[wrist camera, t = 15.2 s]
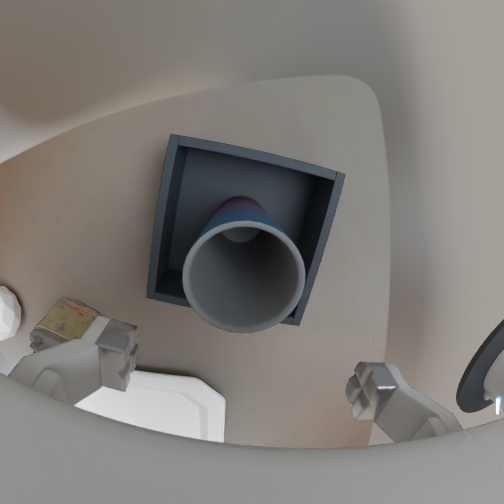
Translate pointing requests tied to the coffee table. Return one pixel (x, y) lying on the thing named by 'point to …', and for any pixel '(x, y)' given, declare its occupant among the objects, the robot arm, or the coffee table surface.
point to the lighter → (62, 324)
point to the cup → (243, 269)
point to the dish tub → (230, 185)
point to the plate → (163, 405)
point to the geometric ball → (8, 313)
